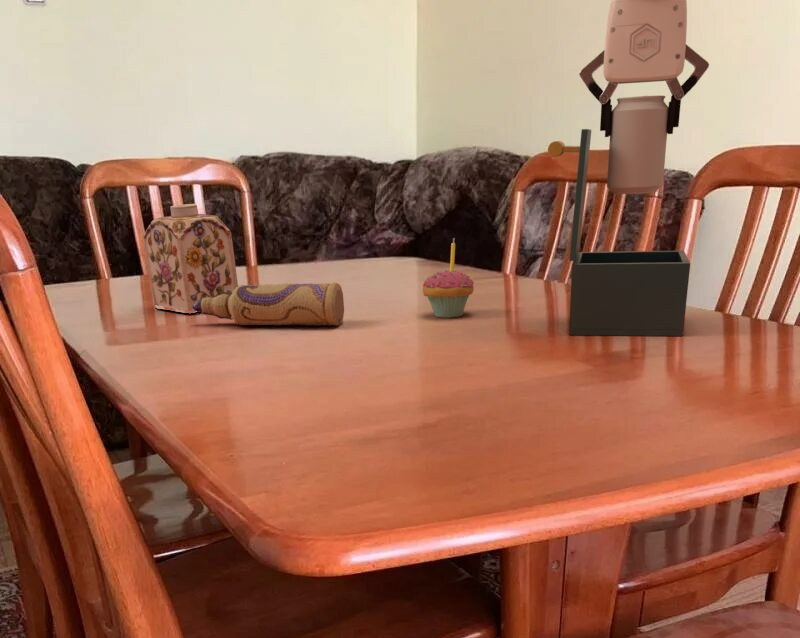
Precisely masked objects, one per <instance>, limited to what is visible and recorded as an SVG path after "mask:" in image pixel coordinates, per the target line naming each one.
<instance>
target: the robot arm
mask: <svg viewBox="0 0 800 638" xmlns="http://www.w3.org/2000/svg"><path fill="white" fill-rule="evenodd" d="M687 1H688V0H611V1H610V5H609V11H608V16H607V23H606V31H605V32H606V33H605V40H604V41H605V42H604V50H602V51H601V52H600V53H599V54H598V55H597V56H595V57H594V58H593V59H592V60H591V61H590V62H588V64H586V65H585V66H584V67H583V68H581V69H580V71H579V78H580V79H581V80H582V82H583V84H584V85H585V86H586V88H587V89H588V91H589V92H590V93H591V95H592V96H593V97H594V98H595V99H596V100H597V101H598V102H599V103H600V105H601V107H600V121H599V123H600V124H599V126H600V127H599V131H600V132H604V137H605V138H610V132H611V115H612V110H613V104H612V99H611V98H612V97H613V95H614V92H615V91H616V89H617V87H618V86H619V84H621V85H622V84H623V85H624V84H636V83H637V84H639V83H655V82H665V83H666V85H667V87H668V89H669V92H670V94H671V96H670V101H669V102H668V105H667V106H668V107H669V115H668V126H667V135H673V134H674V128H679V125H680V114H681V104H682V99H683V98H684V97H685V96H686V95H687V94H688V93H689V92H690V91H691V90H692V89H693V88H694V87H695V86H696V85H697V83H698V82H699V81H700V80H701V78H702V77H703V76H704V74H705V73H706V71H707V70H708V69H709V67H710V63H709V62H708V60H706V59H705V58H704V57H702V56H701V55H700V54H699V53H697V51H695V50H694V49H693V48H692V47H690V46H689V45H687V27H688V4H687ZM685 61H687V62H688V63H689V64H690V65H692V66H693V68H694V69H693V72H692V73H690V75H689V77H688V78H687V79H686V80H685V81H684V82H683V83H682V84H681V83H680V81H679V78H678V77H679V76H680V75H681V74H682V73H683V72H684V68H685ZM602 66H603V67H602ZM600 67H602V68H603V69H602V71H603V78H604V80H605V81H607V83H606V86H605V87H604V89H602V88H601V87H600V86H599V84H598V83H597V81H596V80H595V78H594V77H593V75H594V73H595V72H596V71H597V70H598V69H599V68H600Z"/></svg>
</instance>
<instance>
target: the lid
mask: <svg viewBox="0 0 800 638" xmlns="http://www.w3.org/2000/svg"><path fill="white" fill-rule="evenodd" d="M591 139H592V129H589V128H582V129H581V130H580V144H579V145H565V143H564V142H563V141H562V140H554V141H552V142H550V143H549V145H548V147H547V154H548V155H549V157H551V158H559V157H562V156H563V154H565V153H579V154H578V164H577V165H578V166H577V173H576V174H577V175H576V183H575V184H576V185H575V195H574V207H573V218H572V227H571V239H570V249H569V251H570V252H569V258H568V259H569V262H573V261H575V260H576V257H577V254H578V252H580V249H581V241H582V231H583V221H584V212H585V211H584V210H585V201H586V190H587V182H588V181H587V179H588V170H589V157H590V148H591Z"/></svg>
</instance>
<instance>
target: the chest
mask: <svg viewBox="0 0 800 638" xmlns="http://www.w3.org/2000/svg"><path fill="white" fill-rule="evenodd" d="M690 270H691V261H690V260H689V258H688V256H687V254H686V252H685V250H638V251H637V250H634V251H633V250H631V251H627V250H626V251H623V250H622V251H579V252H578V254H577V257H576V260H575V261H572V264H571V275H570V278H571V279H570V283H571V284H570V298H569V299H570V301H569V321H568V323H569V324H568V335H569V336H605V337H606V336H610V337H611V336H613V337H614V336H615V337H617V336H618V337H622V336H623V337H683V336H684V329H685V320H686V319H685V318H686V309H687V300H688V292H689V291H688V289H689V281H690V273H691V272H690Z"/></svg>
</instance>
